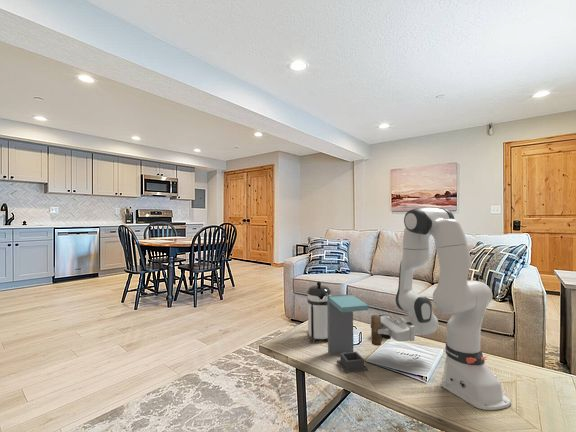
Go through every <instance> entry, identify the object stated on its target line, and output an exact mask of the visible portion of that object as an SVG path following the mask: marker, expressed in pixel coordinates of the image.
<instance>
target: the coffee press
mask: <svg viewBox="0 0 576 432" xmlns="http://www.w3.org/2000/svg"><path fill="white" fill-rule="evenodd" d="M306 294H307V328H308V329H307V331H308V332H307V335H308V336H309V337H310V339H309V341H310V342H311V343H314V342H315V340H325V339H326V340H327V341H328V305H327V296H332V290H331V289H330V287H328V286H327V285H322V282H321V281H317V283H316V285H312V286H309V288H308V289H307V291H306Z"/></svg>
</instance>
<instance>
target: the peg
mask: <svg viewBox="0 0 576 432" xmlns="http://www.w3.org/2000/svg"><path fill="white" fill-rule="evenodd" d="M379 315H380V314H372V315H371V316H370V317H371V318H370V319H371V320H370V323H371V324H370V330H371V344H372V345H373V346H377V347H378V346H381V345H382V336H381V334H378V333H377V329H379V328H380V329H381V316H379Z"/></svg>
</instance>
